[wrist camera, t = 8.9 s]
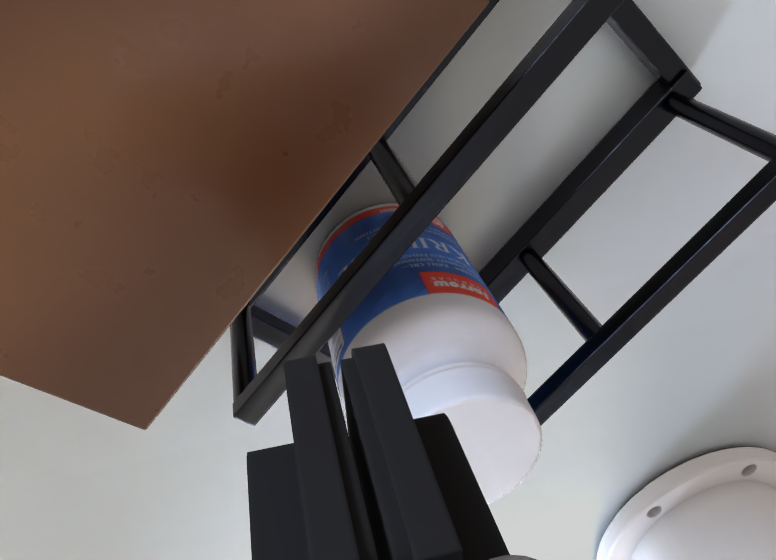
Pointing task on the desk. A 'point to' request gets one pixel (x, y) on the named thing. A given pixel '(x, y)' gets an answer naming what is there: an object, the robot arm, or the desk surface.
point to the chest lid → (178, 169)
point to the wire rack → (543, 229)
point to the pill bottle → (441, 345)
